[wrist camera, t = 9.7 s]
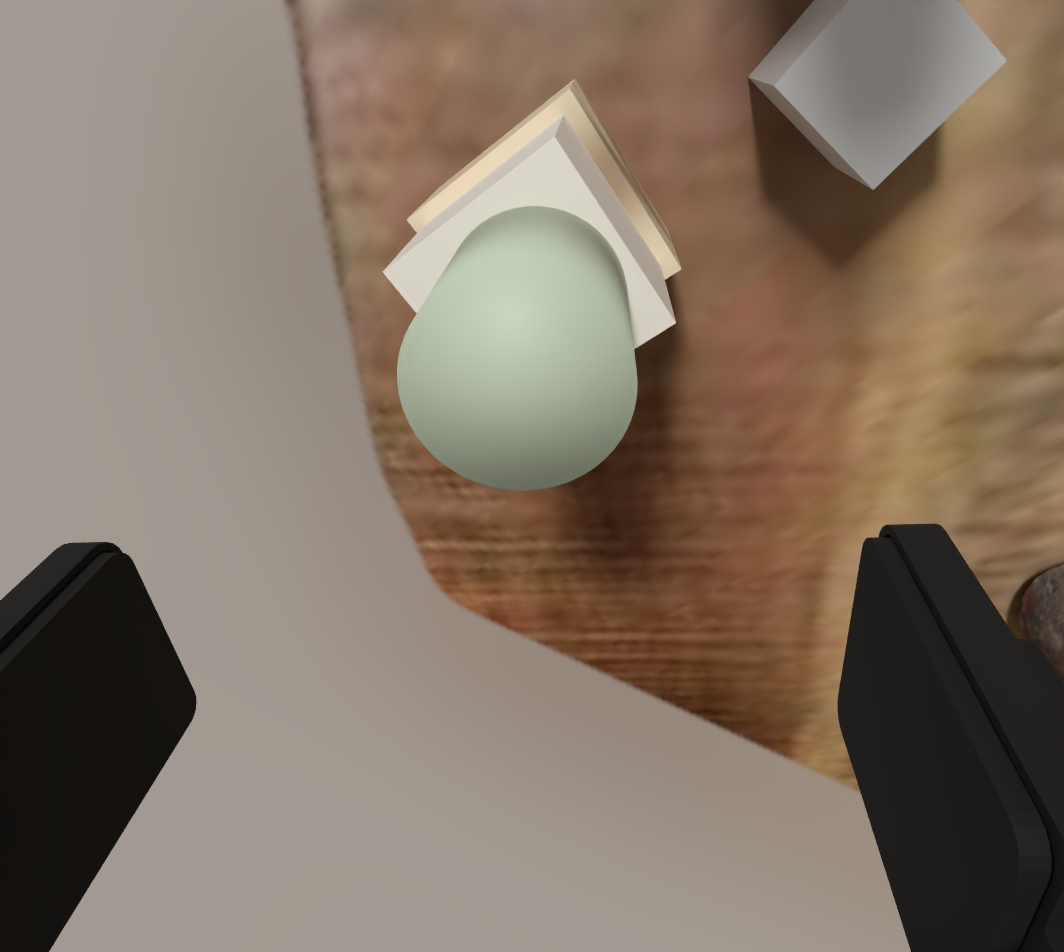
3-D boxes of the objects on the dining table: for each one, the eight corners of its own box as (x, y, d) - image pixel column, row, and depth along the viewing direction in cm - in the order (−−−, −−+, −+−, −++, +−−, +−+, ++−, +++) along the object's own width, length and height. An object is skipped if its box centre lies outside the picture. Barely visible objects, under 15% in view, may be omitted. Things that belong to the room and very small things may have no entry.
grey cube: (943, 55, 27) (1006, 60, 23) (833, 166, 29) (873, 190, 25) (855, -48, 26) (906, -64, 22) (747, 77, 28) (773, 85, 24)
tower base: (667, 229, 31) (681, 269, 26) (535, 319, 34) (523, 371, 29) (574, 78, 29) (569, 88, 23) (438, 188, 31) (406, 219, 26)
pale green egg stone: (662, 324, 21) (683, 419, 16) (516, 414, 23) (493, 525, 18) (559, 164, 19) (545, 215, 14) (408, 277, 21) (348, 357, 16)
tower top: (660, 265, 26) (676, 322, 21) (525, 355, 28) (509, 427, 23) (564, 113, 24) (554, 136, 19) (425, 224, 26) (382, 271, 21)
